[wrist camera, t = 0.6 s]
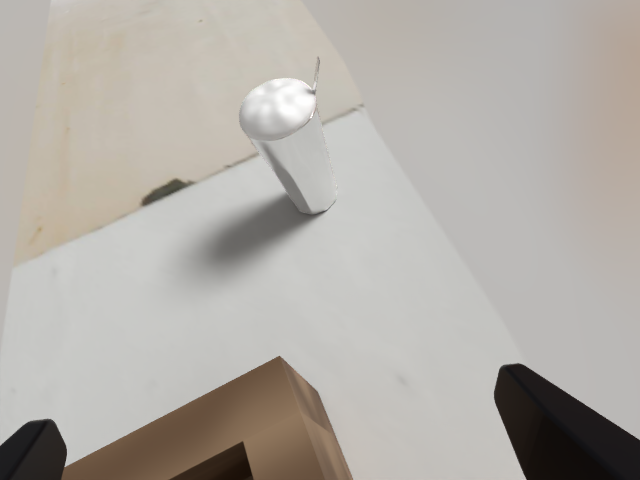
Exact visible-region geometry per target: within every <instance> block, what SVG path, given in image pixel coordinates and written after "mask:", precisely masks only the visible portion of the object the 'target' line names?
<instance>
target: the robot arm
mask: <svg viewBox="0 0 640 480" xmlns="http://www.w3.org/2000/svg"><path fill="white" fill-rule="evenodd" d="M494 399H495V403H496V406H497V409H498V411H499V414H500V416H501V419H502V421H503V424H504V426H505V429H506V431H507V434H508V436H509V439H510V441H511V444H512V446H513V449H514V451H515V454H516V456H517V459H518V461H519V464H520V466H521V468H522V471H523V473H524V475H525V477H526V479H527V480H640V440H639V439H637V438H635V437H634V436H633V435H631V434H629V433H628V432H626V431H625V430H623V429H622V428H620V427H619V426H617V425H616V424H614V423H612V422H611V421H609V420H608V419H606V418H605V417H603V416H602V415H600V414H599V413H597V412H596V411H594V410H593V409H591V408H589V407H588V406H586V405H585V404H583V403H582V402H580V401H579V400H577V399H575V398H574V397H572V396H571V395H569V394H568V393H566V392H565V391H563V390H562V389H560V388H558V387H557V386H555V385H554V384H552V383H551V382H549V381H548V380H546V379H545V378H543V377H541V376H540V375H538V374H537V373H535V372H534V371H532V370H531V369H529V368H528V367H526V366H524V365H522V364H519V363H517V364H508V365H503V366H501V368H500V369H499V373H498V377H497V382H496V386H495V390H494ZM66 457H67V449H66V445H65V442H64V440H63V438H62V436H61V434H60V432H59V430H58V428H57V425H56V423H55V422H54V421H53V420H51V419H43V420H34V421H30V422H27V423H26V424H24V425H23V426H22V427H21V428H20V429H19V430H17V431H16V432H15V433H14V434H13V435H12V436H11V437H10V438H8V439H7V440H6V441H5V442H4V443H3V444H2V445H1V446H0V480H61V479H62V474H63V470H64V466H65V462H66Z"/></svg>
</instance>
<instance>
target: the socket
mask: <svg viewBox="0 0 640 480" xmlns="http://www.w3.org/2000/svg"><path fill="white" fill-rule="evenodd" d="M61 480H353V478H352V476H351V473H350V471H349V468H348V466H347V463H346V461H345V458H344V456H343V453H342V451H341V448H340V446H339V443H338V441H337V438H336V436H335V433H334V431H333V428H332V426H331V423H330V421H329V419H328V416H327V414H326V411H325V409H324V406H323V404H322V401H321V399H320V396H319V394H318V392H317V391H316V390H315V389H314V388H313V387H312V386H311V385H310V384H309V383H308V382H307V381H306V380H305V379H304V378H303V377H302V376H300V375H299V374H298V373H297V372H296V371H295V370H294V369H293V368H292V367H291V366H290V365H289V364H288V363H287V362H286V361H285V360H284V359H283V358H281V357H280V356H278V357H276V358H274V359H273V360H271V361H269V362H267V363H265V364H263V365H261V366H259V367H257V368H255V369H253V370H251V371H249V372H247V373H246V374H244V375H242V376H240V377H238V378H236V379H234V380H232V381H230V382H228V383H226V384H224V385H222V386H221V387H219V388H217V389H215V390H213V391H211V392H209V393H207V394H205V395H203V396H201V397H199V398H197V399H195V400H194V401H192V402H190V403H188V404H186V405H184V406H182V407H180V408H178V409H176V410H174V411H172V412H170V413H168V414H167V415H165V416H163V417H161V418H159V419H157V420H155V421H153V422H151V423H149V424H147V425H145V426H143V427H142V428H140V429H138V430H136V431H134V432H132V433H130V434H128V435H126V436H124V437H122V438H120V439H118V440H116V441H115V442H113V443H111V444H109V445H107V446H105V447H103V448H101V449H99V450H97V451H95V452H93V453H91V454H90V455H88V456H86V457H84V458H82V459H80V460H78V461H76V462H74V463H72V464H70V465H68V466H66V467H64V470H63V474H62V479H61Z"/></svg>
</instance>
